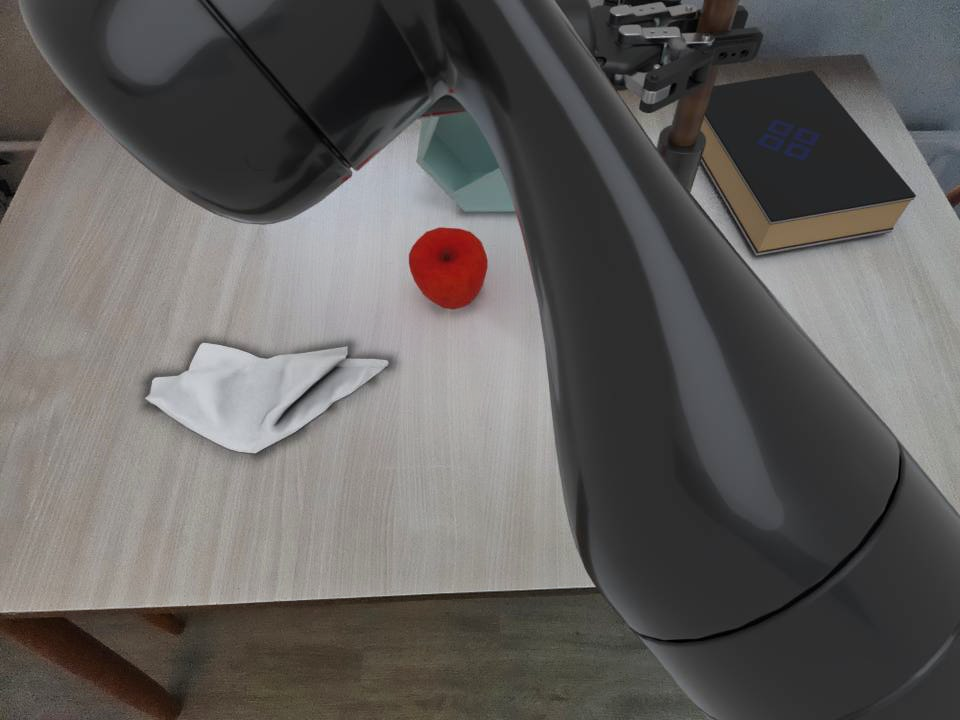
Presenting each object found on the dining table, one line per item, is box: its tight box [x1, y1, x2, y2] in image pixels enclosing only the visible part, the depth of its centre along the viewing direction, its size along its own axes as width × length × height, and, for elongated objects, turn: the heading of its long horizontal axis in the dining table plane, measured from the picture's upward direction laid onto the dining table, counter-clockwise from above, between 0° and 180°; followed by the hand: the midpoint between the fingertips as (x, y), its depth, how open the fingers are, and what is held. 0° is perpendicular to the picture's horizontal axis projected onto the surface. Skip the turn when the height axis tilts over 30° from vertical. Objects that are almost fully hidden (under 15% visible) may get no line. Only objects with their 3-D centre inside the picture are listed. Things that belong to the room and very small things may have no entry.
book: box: [700, 70, 917, 257], centre depth 82 cm, size 17×25×7 cm
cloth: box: [144, 342, 390, 454], centre depth 69 cm, size 26×14×2 cm, turn 85°
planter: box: [415, 112, 516, 213], centre depth 78 cm, size 17×8×21 cm
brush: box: [655, 0, 740, 193], centre depth 49 cm, size 4×4×28 cm
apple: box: [408, 226, 489, 310], centre depth 73 cm, size 9×9×8 cm
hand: (749, 32), depth 48 cm, fingers closed on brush, 2 cm apart
